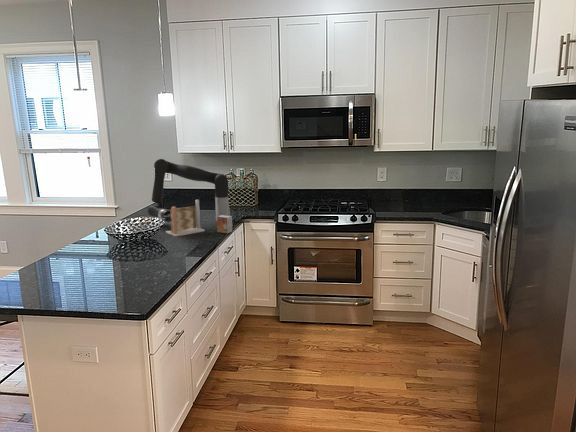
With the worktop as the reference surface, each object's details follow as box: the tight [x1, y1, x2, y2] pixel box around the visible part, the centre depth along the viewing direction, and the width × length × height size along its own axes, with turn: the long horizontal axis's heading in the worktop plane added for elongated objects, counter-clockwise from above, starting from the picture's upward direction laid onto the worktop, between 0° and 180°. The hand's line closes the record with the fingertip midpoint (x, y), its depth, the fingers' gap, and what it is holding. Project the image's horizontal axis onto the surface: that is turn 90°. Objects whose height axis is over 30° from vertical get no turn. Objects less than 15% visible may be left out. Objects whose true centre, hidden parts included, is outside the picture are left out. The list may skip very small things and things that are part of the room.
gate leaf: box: [169, 205, 197, 232], centre depth 289 cm, size 17×1×15 cm, turn 132°
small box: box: [216, 215, 233, 234], centre depth 292 cm, size 8×6×10 cm
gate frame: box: [165, 199, 206, 237], centre depth 291 cm, size 21×13×20 cm, turn 132°
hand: (177, 219), depth 287 cm, fingers closed
